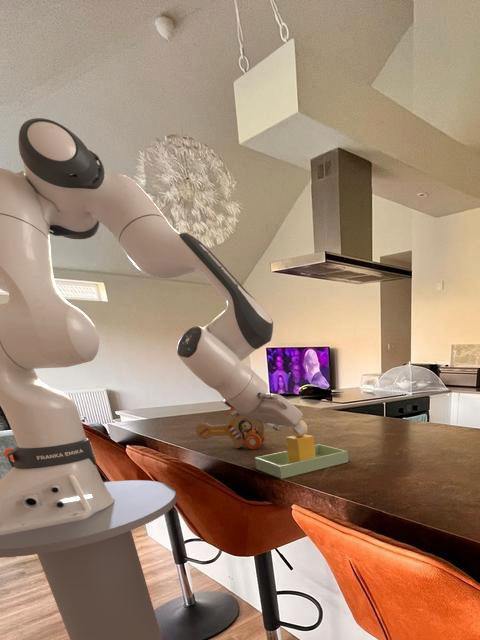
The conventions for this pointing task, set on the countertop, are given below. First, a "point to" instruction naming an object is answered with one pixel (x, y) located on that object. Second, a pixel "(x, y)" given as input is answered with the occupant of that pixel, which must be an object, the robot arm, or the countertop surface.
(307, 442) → the yellow block with ball
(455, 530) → the countertop surface
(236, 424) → the toy helicopter
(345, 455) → the tray
